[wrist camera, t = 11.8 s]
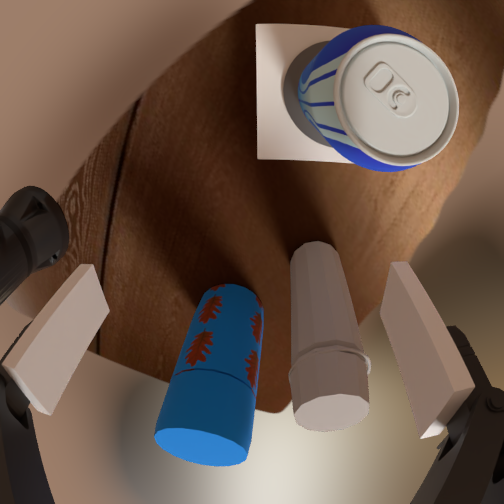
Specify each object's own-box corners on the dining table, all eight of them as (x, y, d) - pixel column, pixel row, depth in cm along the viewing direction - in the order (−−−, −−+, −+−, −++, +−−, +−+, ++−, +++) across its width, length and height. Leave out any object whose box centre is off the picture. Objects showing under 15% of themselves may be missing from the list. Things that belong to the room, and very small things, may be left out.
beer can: (374, 49, 23) (458, 20, 9) (388, 131, 27) (476, 176, 13) (288, 59, 24) (294, 22, 10) (306, 142, 28) (330, 195, 14)
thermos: (248, 274, 46) (220, 424, 25) (274, 324, 51) (264, 464, 29) (187, 293, 49) (133, 427, 28) (217, 338, 54) (186, 466, 32)
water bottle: (279, 251, 44) (271, 405, 22) (330, 228, 42) (368, 377, 20) (305, 297, 48) (312, 446, 26) (352, 279, 45) (389, 425, 23)
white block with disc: (262, 145, 37) (257, 160, 30) (261, 37, 30) (255, 22, 23) (386, 153, 36) (411, 170, 28) (391, 49, 29) (418, 40, 21)
